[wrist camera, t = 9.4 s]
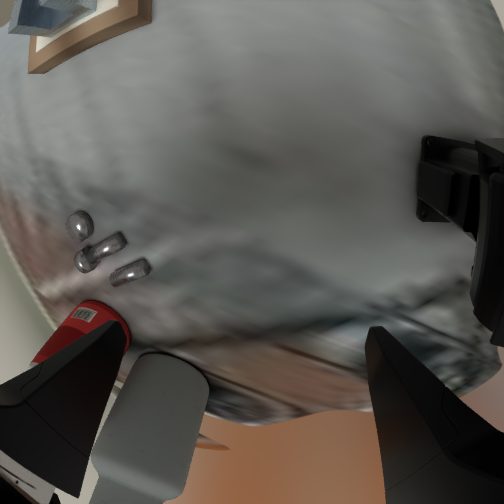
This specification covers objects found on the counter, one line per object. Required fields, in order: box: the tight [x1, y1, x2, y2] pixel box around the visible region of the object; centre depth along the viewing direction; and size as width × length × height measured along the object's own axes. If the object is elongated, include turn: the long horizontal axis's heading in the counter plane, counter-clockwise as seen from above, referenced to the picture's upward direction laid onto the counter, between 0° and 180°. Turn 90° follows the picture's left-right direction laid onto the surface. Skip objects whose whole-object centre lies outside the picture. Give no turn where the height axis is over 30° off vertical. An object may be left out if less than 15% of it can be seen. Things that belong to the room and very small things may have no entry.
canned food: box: [28, 301, 130, 370], centre depth 22 cm, size 8×8×11 cm
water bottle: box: [89, 354, 209, 504], centre depth 18 cm, size 10×10×28 cm
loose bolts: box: [66, 211, 150, 287], centre depth 21 cm, size 6×8×2 cm
